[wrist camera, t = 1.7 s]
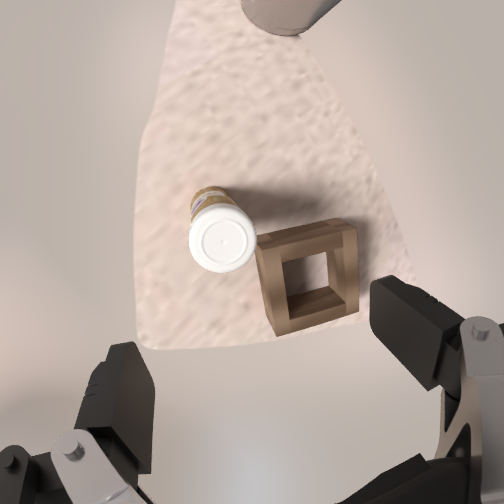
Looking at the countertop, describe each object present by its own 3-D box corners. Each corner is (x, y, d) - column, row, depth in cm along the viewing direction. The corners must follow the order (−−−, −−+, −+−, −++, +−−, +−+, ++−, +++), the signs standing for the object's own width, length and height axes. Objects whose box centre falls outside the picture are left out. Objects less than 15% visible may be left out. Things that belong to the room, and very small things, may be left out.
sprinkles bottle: (199, 180, 31) (204, 196, 18) (238, 195, 32) (269, 222, 20) (184, 219, 32) (178, 262, 19) (222, 233, 33) (242, 283, 21)
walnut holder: (251, 236, 34) (261, 250, 29) (336, 218, 35) (356, 227, 30) (266, 315, 37) (276, 336, 33) (341, 293, 39) (359, 311, 34)
